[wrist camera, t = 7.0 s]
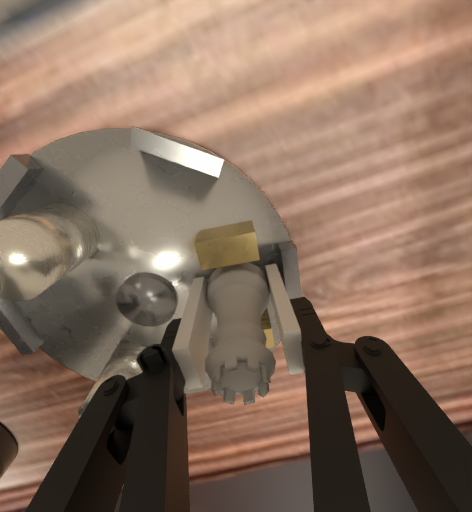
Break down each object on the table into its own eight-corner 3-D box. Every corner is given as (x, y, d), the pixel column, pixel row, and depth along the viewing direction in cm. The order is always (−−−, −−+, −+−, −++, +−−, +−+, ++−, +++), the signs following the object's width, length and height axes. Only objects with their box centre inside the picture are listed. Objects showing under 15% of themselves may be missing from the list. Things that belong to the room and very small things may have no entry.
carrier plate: (89, 394, 25) (44, 471, 19) (-68, 172, 15) (-255, 185, 10) (303, 363, 23) (328, 436, 17) (275, 91, 14) (306, 47, 8)
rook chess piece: (202, 261, 16) (175, 352, 9) (265, 253, 16) (291, 339, 9) (213, 313, 18) (199, 422, 11) (270, 306, 18) (296, 413, 11)
